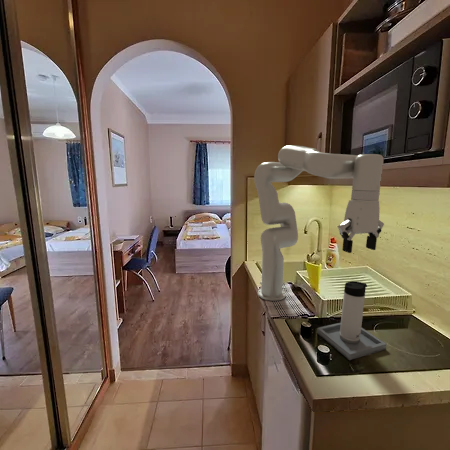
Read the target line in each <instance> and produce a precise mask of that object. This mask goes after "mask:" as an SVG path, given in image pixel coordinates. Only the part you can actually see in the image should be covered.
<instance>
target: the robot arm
mask: <svg viewBox="0 0 450 450" xmlns="http://www.w3.org/2000/svg"><path fill="white" fill-rule="evenodd" d="M277 159H278V161H276V162H275V161H267V162H262V163H261V164H259V165H258V166H257V167H256V169H255V171H254V176H253V178H254V179H253V181H254V185H255V189H256V191H257V195H258V196H257V197H258V203H259V211H260V217H261V221H262V223H263V224H265V225H269V226H272V225H274V226H275V225H279V226H275V227H269V228H266V229H265V230H264V231H262V233H261V235H260V243H261V244H260V245H261V249H262V250H261V251H262V252H261V253H262V257H261V258H262V259H261V261H262V262H261V281H260V283H259V284H260V286H261V288H259V289H258V291H257V295H258V297H259V298H261V299H263V300H266V301H269V302H270V301H271V302H278V301H282V300H283V299H285V298H286V292H285V290H283V287H284V285H283V284H284V283H283V282H284V281H283V280H284V279H283V278H284V264H285V263H284V262H285V261H284V260H285V257H284V255H283V253H282V251H281V249H283V248H288V247H293V246H295V245H296V244H297V243H298V240H299V233H298V226H297V225H298V224H297V217H296V212H295V209H294V207H293V206H292V205H291V204H290V203H288V202H280V201H279V196H278V195H279V194H278V192H277V189H276V188H275V186H274V185H273V183H288V182H291V181H293V180H294V179H295V178H296V177H297V176H299V175H300V174H301V173H303V172H307V174H310V175H313V176H317V177H321V178H325V179H332V180H333V179H339V180H340V179H342V180H343V179H344V180H345V179H352V187H351V195H350V200H348V202H347V205H346V209H345V214H344V217H343V222H342V223H340V224H339V225H338V226H337V228H338V231H339V235H340V236H341V239H343V240H342V249H341V250H342V252H345V253H348V254H352V253H353V252H352V251H353V243H354V241H353V240H352V239H353V238H354V237H355V235H358V234H359V235H361V234H362V235H363V234H368V235H367V236H366V241H365V242H366V243H365V248H366V249H369V250H372V251H376V249H377V241H378V238H379V236H380V234H381V233H382V229H383V228H384V226H385V222H383V221H381V220H380V210H381V209H380V208H381V207H380V199H379V198H380V191H381V185H380V181H381V182H382V177H381V174H382V175H383V169H382V164H383V165H384V156H383V155H381V154H376V153H366V154H365V153H363V154H358V155H355V154H345V153H343V154H341V153H329V152H321V151H319V150H318V149H317V148H315V147H314V148H313V147H309V146H305V145H304V146H303V145H293V144H292V145H291V144H290V145H285V146H283V147H282V148H280V150H279V151H278V154H277Z"/></svg>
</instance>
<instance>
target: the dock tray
mask: <svg viewBox="0 0 450 450" xmlns="http://www.w3.org/2000/svg"><path fill="white" fill-rule="evenodd" d="M340 326H341V322H338V323H333V324H329V325H324V326H319V327H317V328H316V329H317V330H316V333H317V335H318V336H320V337H321V338H322V339H323V340H325V341H326V342H327V343H328V344H329V345H330V346H332V347H333V348H334V349H335V350H336V351H337V352H339V353H340V354H341V355H343V356H344V357H345V358H346V359H347V360H349V361H351V360H354V359H359V358H361V357H365V356H369V355H372V354H375V353H378V352H382V351H385V350H387V343H386V342H384V341H383V340H381V339H379V338H378V337H377V336H375V335H374V334H372V333H371V332H369V331H368V330H366V329H365V328H363V327H362V326H361V334H360V341H359V343H357V344H350V343H347V342H345V341H343V340H342V339H341V338H340Z"/></svg>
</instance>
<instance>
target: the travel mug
mask: <svg viewBox="0 0 450 450" xmlns="http://www.w3.org/2000/svg"><path fill="white" fill-rule="evenodd" d="M367 288H368V284H367V283H365V282H361V281H347V282H346V283H345V284H344V290H343V297H342V298H343V299H342V306H341V307H342V308H341V319H340V323H341V326H340V338H341V339H342V340H343V341H345V342H347V343H350V344H357V343H359V341H360V334H361V327H362V324H363V323H362V322H363V316H364V307H365V301H366V300H365V298H366V289H367Z"/></svg>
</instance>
